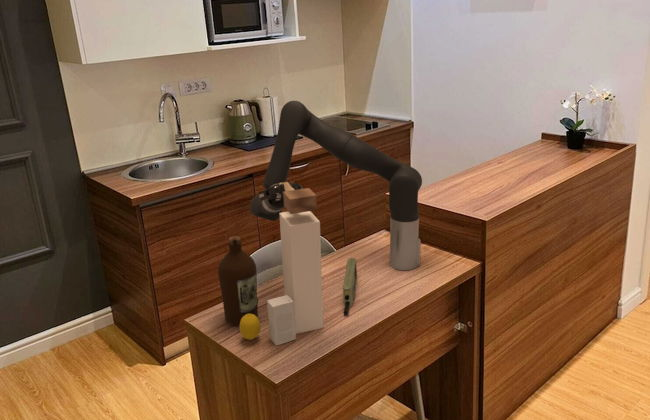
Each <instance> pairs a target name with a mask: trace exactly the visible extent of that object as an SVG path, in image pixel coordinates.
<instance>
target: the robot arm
mask: <svg viewBox="0 0 650 420" xmlns="http://www.w3.org/2000/svg"><path fill="white" fill-rule="evenodd" d="M279 115H280V116H279V121H278V128H277V129H278V130H277V134H276V139H275V143H274V147H273V150H272V154H271V157H270V159H269V163H268V165H267V168H266V172H265V175H264V178H263V182H262V186H263V188H264V189H263V190H261V191H258V194H256V195H255V196H254V197H253V198H251V201H250V202H249V203H250V204H249V211H250V213H251V214H252V215H253V216H255V217H258V218H261V219H264V220H268V221H271V222H276V221H277V220H280V214H279V213H282V212H283V209H286V208H285V207H284V196H283V192H284V191H285V187H284V182H287V179H288V176H289V173H290V170H291V169H290V168H291V163H292V156H293V151H294V147H295V143H296V141H297V138H298V136H299V135H300V136H303V137H305V138H306V139H308V140H311V141H312V142H314V143H316V144H317V145H319V146H320V147H321V148H323V149H324V150H325V151H327V152H328V153H329V155H330V154H331V156H333V157H335V158H336V159H338V160H339V161H341V162H342V163H345V164H346V165H347V166H350V167H352V168H354V169H357V170H360V171H365V172H369V173H372V174H376V175H377V176H380V177H381V178H383V179H384V180H386V181H387V182H389V185H388V208H389V213H390V232H389V233H390V234H389V235H390V236H389V237H390V239H389V241H390V242H389V265H390V266H391V267H392V269H395V270H399V271H411V270H414V269H416V268H417V267H418V266H420V264H421V244H422V243H421V242H422V240H421V239H420V238H419V230H420V229H419V228H420V227H419V225H420V209H419V208H418V207H419V206H418V203H419V199H418V198H419V190H420V189H421V187H422V184H423V178H422V176H421V174H420V172H419V170H417V169H416V168H414V167H412V166H410V165H408V164H405V163H404V162H402V161H399V160H397V159H395V158H393V157H391V156H389V155H387V154H386V153H384V152H383V151H381V150H379V149H378V148H376V147H374V146H372V145H371V144H369V143H368V142H366V141H365V140H363V139H362V138H360V137H358V136H356V135H354V134H353V133H351V132H349V131H347V130H344V129H343V128H339V127H337V126H334V125H331V124H329V123H327V122H326V121H323V120H322V119H321V118H319V117H318V116H316V115H315V114H314V113H313V112H311V111H310V110H309V109H308V108H307V107H306V105H304V104H303V103H302V102H301V101H298V100H290V101H288V102H286V103H285V104H284V105H283V106H282V108H281V109H280V114H279ZM279 183H282V184H280V185H279ZM289 185H290V186H291V187H292V188H294V190H299V189H304V188H303V185H302V184H300V183H297V182H296V183H295V181H291V182H290V183H289Z"/></svg>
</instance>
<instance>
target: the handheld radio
mask: <svg viewBox="0 0 650 420" xmlns="http://www.w3.org/2000/svg"><path fill="white" fill-rule="evenodd" d="M345 265H346V267H345V275H344V280H343V285H342V295H343V296H342V297H343V306H344V309H343V315H344V316H347V315H348V314H349V309H350V308H351V307H352V306H353V304H354V298H355V295H356V284H357V276H358V271H357V269H358V268H357V258H355V257H350V258H348V259H347V261H346V264H345Z"/></svg>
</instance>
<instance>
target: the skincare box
mask: <svg viewBox="0 0 650 420" xmlns="http://www.w3.org/2000/svg"><path fill="white" fill-rule="evenodd" d="M266 307H267V315H268V317H267V318H268V328H269V338H270V341H272V343H273V344H274V345H275V346H280V345H282V344H286V343H289V342H291V341H295V340H296V339H297V337H296V335H297V334H296V333H295V318H294V302H293V300H292V299H291V298H290V297H289V296H288V295H282V296H278V297H275V298H274V297H273V298H270V299H268V300H266Z"/></svg>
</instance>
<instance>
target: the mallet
mask: <svg viewBox="0 0 650 420" xmlns="http://www.w3.org/2000/svg"><path fill="white" fill-rule="evenodd" d="M280 184H282V183H279V185H280ZM289 184H290V183H289V182H288V181H286V182H284V187H285V191H284V192H283V196H284V207H285V208H284V209H286V211H287V212H289V213H290V214H295V213H301V212H308V211H310V212H312V211H313V212H314V211H317V210H318V208H317V207H318V206H317V205H318V203H317V200H318V199H317V194H316V193H315V192H313V190H312V189H311V188H309V187H307V188H303V189H299V190H294V188H292V187H291V186H290V185H289Z"/></svg>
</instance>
